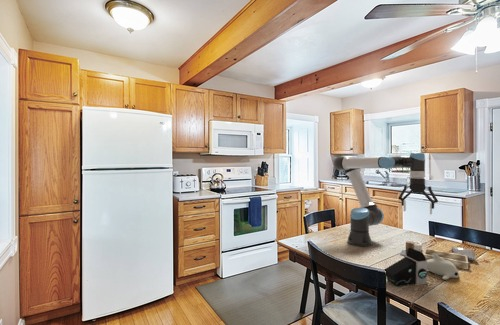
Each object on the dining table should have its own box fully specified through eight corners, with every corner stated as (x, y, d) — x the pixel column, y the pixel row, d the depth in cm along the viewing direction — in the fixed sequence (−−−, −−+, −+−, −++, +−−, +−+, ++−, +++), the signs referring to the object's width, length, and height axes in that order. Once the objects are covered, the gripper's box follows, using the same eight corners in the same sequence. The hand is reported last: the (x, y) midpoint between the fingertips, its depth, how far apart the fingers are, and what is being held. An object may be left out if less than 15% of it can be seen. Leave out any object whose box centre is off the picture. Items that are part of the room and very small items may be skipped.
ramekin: (405, 249, 163) (405, 243, 163) (407, 245, 169) (407, 239, 169) (421, 252, 158) (421, 246, 158) (422, 248, 164) (422, 242, 164)
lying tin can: (451, 257, 149) (451, 246, 150) (451, 256, 153) (451, 246, 154) (474, 261, 142) (474, 250, 143) (473, 260, 147) (473, 249, 148)
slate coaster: (400, 255, 154) (400, 254, 154) (402, 250, 161) (402, 249, 161) (417, 258, 149) (417, 257, 149) (419, 253, 156) (419, 252, 156)
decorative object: (382, 280, 124) (382, 249, 123) (413, 276, 127) (413, 246, 127) (395, 288, 116) (395, 256, 115) (428, 284, 120) (428, 252, 119)
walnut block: (405, 253, 154) (405, 242, 154) (406, 251, 158) (406, 240, 157) (413, 255, 152) (413, 243, 152) (414, 253, 155) (414, 242, 155)
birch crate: (423, 260, 146) (423, 254, 146) (424, 254, 155) (425, 248, 155) (468, 269, 134) (468, 263, 134) (467, 262, 143) (467, 256, 143)
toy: (462, 285, 118) (462, 264, 118) (414, 275, 128) (414, 256, 128) (455, 270, 133) (455, 251, 133) (412, 263, 143) (412, 245, 142)
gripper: (393, 177, 161) (393, 210, 161) (442, 179, 144) (442, 216, 145) (395, 176, 166) (395, 208, 167) (443, 178, 150) (443, 214, 150)
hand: (417, 212), depth 156 cm, fingers open, 13 cm apart
